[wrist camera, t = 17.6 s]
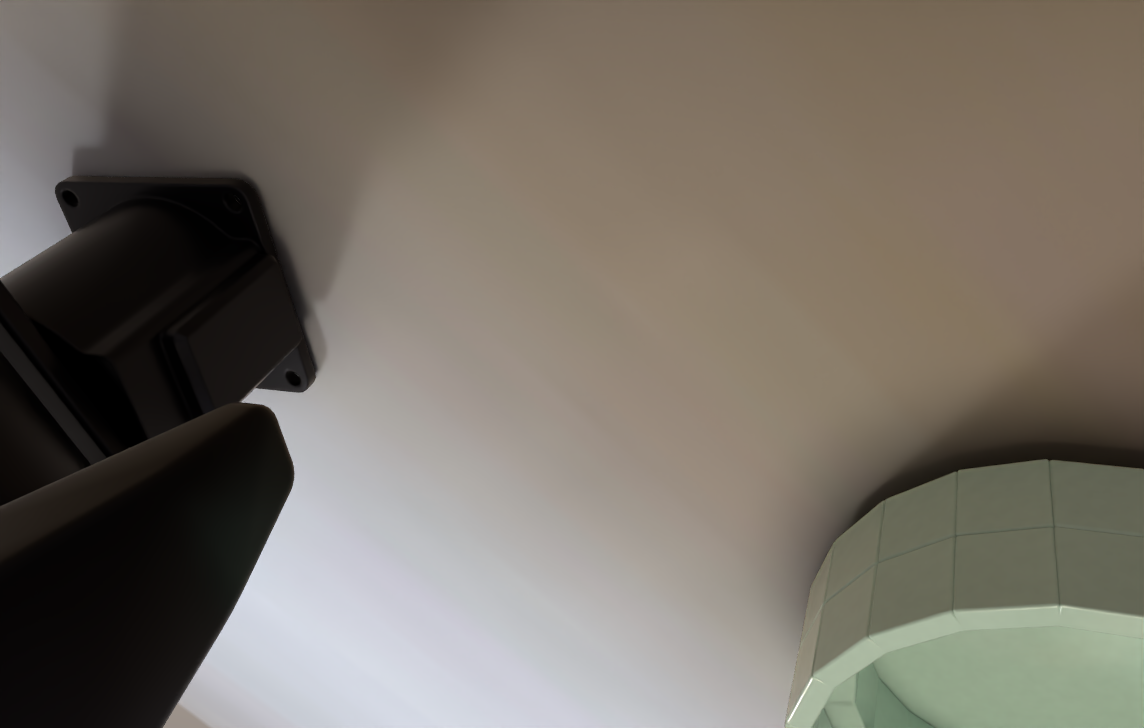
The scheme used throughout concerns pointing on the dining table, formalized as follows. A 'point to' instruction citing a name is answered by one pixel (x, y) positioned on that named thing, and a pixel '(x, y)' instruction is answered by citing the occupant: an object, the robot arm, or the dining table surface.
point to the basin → (983, 605)
